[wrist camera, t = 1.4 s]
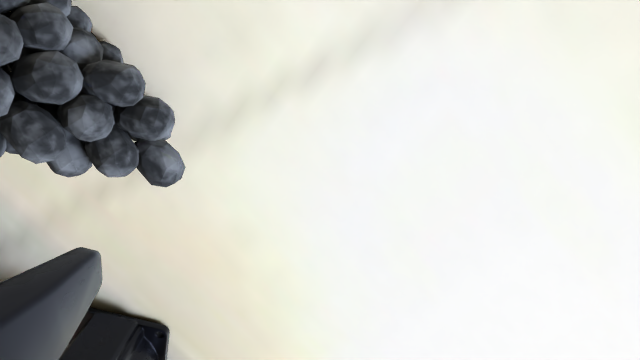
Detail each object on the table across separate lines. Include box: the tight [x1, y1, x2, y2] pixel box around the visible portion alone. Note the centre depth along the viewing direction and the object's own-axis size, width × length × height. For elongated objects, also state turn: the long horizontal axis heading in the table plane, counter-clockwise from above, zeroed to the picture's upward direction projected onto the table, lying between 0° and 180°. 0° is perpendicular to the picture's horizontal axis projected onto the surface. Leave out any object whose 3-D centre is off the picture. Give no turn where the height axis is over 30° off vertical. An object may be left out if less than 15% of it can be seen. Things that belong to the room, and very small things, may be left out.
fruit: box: [0, 0, 185, 187], centre depth 17 cm, size 9×8×15 cm
